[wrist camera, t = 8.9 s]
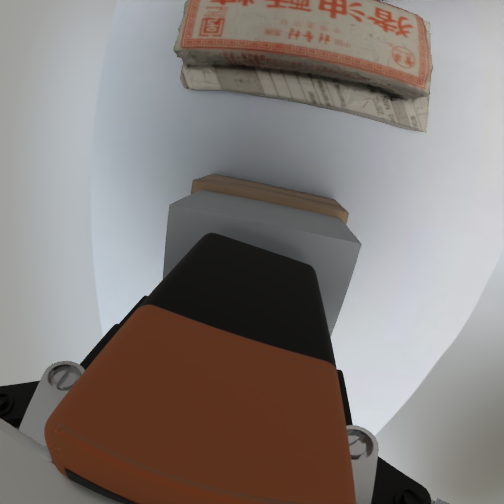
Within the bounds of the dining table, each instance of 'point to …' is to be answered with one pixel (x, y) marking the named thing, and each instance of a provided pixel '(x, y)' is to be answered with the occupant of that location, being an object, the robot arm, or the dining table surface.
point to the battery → (213, 391)
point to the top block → (268, 237)
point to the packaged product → (312, 54)
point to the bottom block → (270, 195)
